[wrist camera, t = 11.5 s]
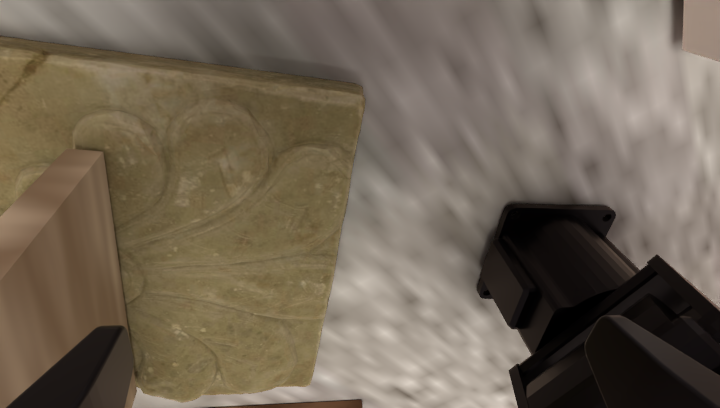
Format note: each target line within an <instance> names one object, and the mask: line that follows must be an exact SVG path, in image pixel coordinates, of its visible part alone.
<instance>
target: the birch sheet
mask: <svg viewBox="0 0 720 408" xmlns="http://www.w3.org/2000/svg"><path fill="white" fill-rule="evenodd" d="M109 325H122V326H124V327H126V329H127V331H128V325H127V318H126V311H125V303H124V296H123V289H122V282H121V275H120V267H119V260H118V253H117V246H116V239H115V232H114V224H113V217H112V210H111V203H110V196H109V189H108V181H107V174H106V167H105V160H104V153H103V152H102V151H91V150H79V149H66V150H65V151H64V152H63V153H62V154H61V155H60V156H59V157H58V158H57V159H56V160H55V161H54V162H53V163H52V164H51V165H50V166H49V167H48V168H47V169H46V170H45V171H44V172H43V173H42V174H41V175H40V176H39V178H38V179H37V180H36V181H35V182H34V183H33V184H32V185H31V186H30V187H29V188H28V189H27V190H26V191H25V192H24V193H23V194H22V195H21V196H20V197H19V198H18V199H17V200H16V201H15V202H14V203H13V204H12V205H11V206H10V207H9V208H8V209H7V210H6V211H5V212H4V214H3V215H2V216H1V217H0V408H6V407H7V406H8V405H9V404H10V403H11V402H12V401H14V400H15V399H16V398H17V397H18V396H19V395H20V394H21V393H23V392H24V391H25V390H26V389H27V388H28V387H29V386H31V385H32V384H33V383H34V382H35V381H36V380H37V379H38V378H40V377H41V376H42V375H43V374H44V373H45V372H46V371H47V370H49V369H50V368H51V367H52V366H53V365H54V364H55V363H56V362H58V361H59V360H60V359H61V358H62V357H63V356H64V355H65V354H67V353H68V352H69V351H70V350H71V349H72V348H73V347H75V346H76V345H77V344H78V343H79V342H80V341H81V340H82V339H84V338H85V337H86V336H87V335H88V334H89V333H90V332H91V331H93V330H94V329H95V328H97V327H99V326H109ZM128 335H129V332H128ZM129 340H130V339H129ZM136 392H137V390H136V382H135V375H134V368H133V372H132V377H131V381H130V386H129V390H128V395H127V399H126V404H125V408H132V405H133V402H134V398H135V395H136Z"/></svg>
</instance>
